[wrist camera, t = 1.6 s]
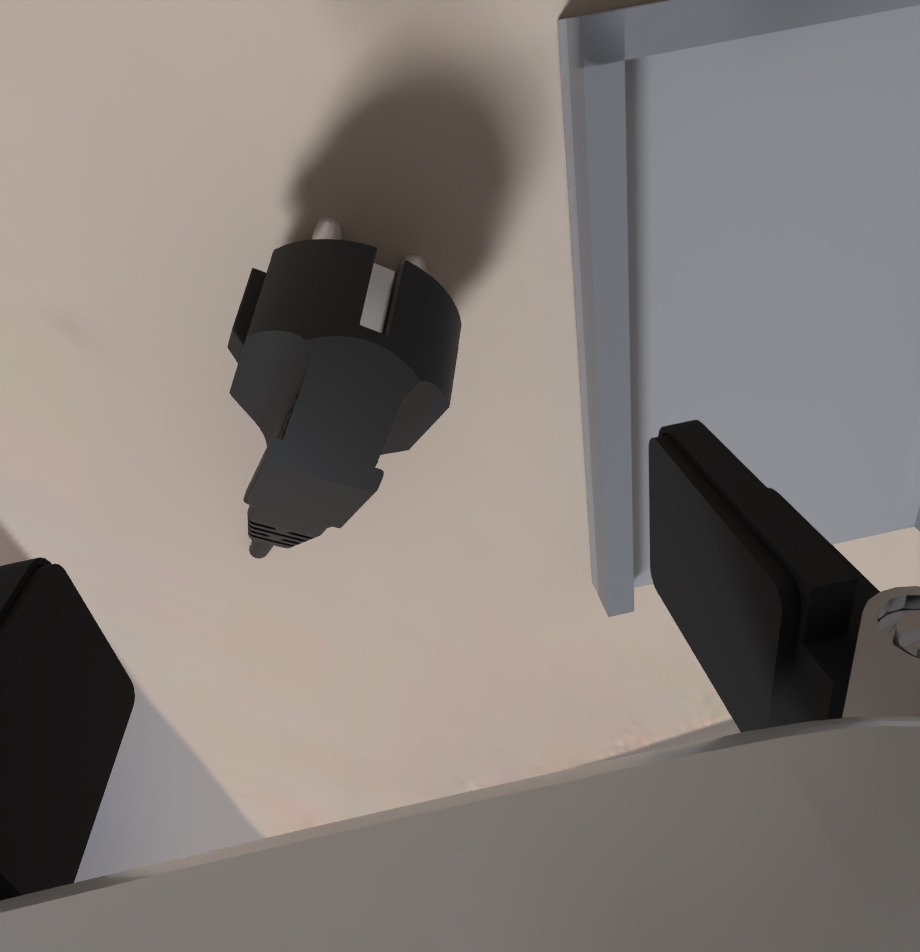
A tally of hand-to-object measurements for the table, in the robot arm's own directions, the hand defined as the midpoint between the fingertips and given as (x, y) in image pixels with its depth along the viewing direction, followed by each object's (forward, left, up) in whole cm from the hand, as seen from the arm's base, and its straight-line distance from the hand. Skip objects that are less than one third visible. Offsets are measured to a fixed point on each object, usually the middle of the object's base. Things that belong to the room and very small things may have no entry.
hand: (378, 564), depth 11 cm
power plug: (+2, -2, -12) cm, 12 cm away
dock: (+3, +14, -11) cm, 18 cm away
